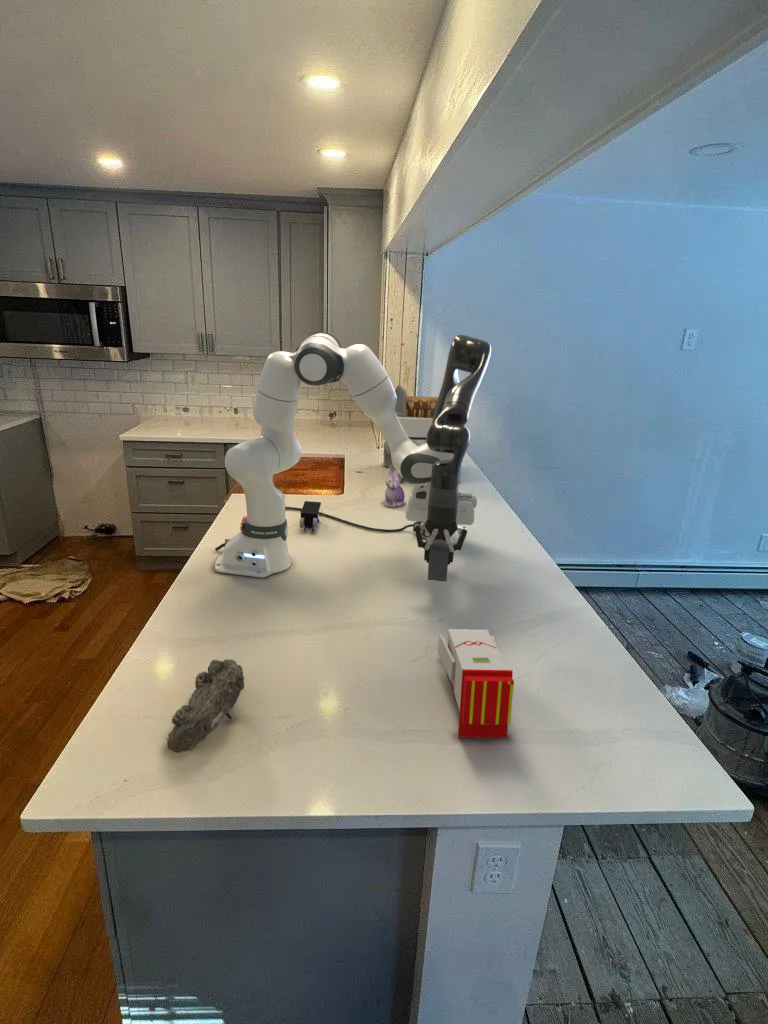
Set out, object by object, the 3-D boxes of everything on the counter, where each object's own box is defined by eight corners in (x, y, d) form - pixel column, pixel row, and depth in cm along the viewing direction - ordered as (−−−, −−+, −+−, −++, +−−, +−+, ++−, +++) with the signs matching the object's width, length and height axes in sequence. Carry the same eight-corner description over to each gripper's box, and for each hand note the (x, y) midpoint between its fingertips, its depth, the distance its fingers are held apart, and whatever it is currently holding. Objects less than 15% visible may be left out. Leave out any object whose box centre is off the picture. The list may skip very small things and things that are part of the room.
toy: (488, 613, 130) (523, 677, 101) (484, 667, 133) (517, 744, 104) (435, 612, 130) (455, 676, 101) (432, 666, 133) (451, 743, 103)
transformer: (382, 463, 289) (386, 382, 275) (445, 464, 293) (451, 384, 279) (390, 482, 257) (394, 392, 243) (460, 483, 261) (468, 394, 247)
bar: (446, 581, 149) (449, 551, 146) (427, 580, 149) (429, 550, 146) (445, 542, 174) (447, 516, 171) (429, 541, 174) (431, 515, 171)
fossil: (192, 660, 117) (244, 628, 112) (224, 691, 120) (276, 661, 115) (142, 746, 98) (202, 712, 93) (182, 779, 101) (242, 748, 96)
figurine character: (318, 538, 196) (321, 518, 210) (317, 518, 193) (321, 499, 206) (298, 537, 196) (303, 517, 210) (298, 517, 193) (303, 499, 206)
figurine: (389, 509, 224) (391, 472, 218) (377, 501, 232) (379, 465, 227) (410, 506, 228) (412, 470, 223) (398, 498, 236) (399, 463, 231)
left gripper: (477, 491, 167) (472, 534, 172) (407, 486, 169) (405, 529, 173) (478, 497, 161) (473, 542, 166) (406, 492, 163) (404, 537, 167)
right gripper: (470, 499, 148) (464, 558, 153) (415, 495, 149) (411, 554, 154) (472, 508, 141) (465, 570, 146) (414, 504, 142) (410, 566, 147)
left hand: (438, 535), depth 170 cm, fingers closed on bar, 5 cm apart
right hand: (438, 562), depth 150 cm, fingers closed on bar, 5 cm apart
